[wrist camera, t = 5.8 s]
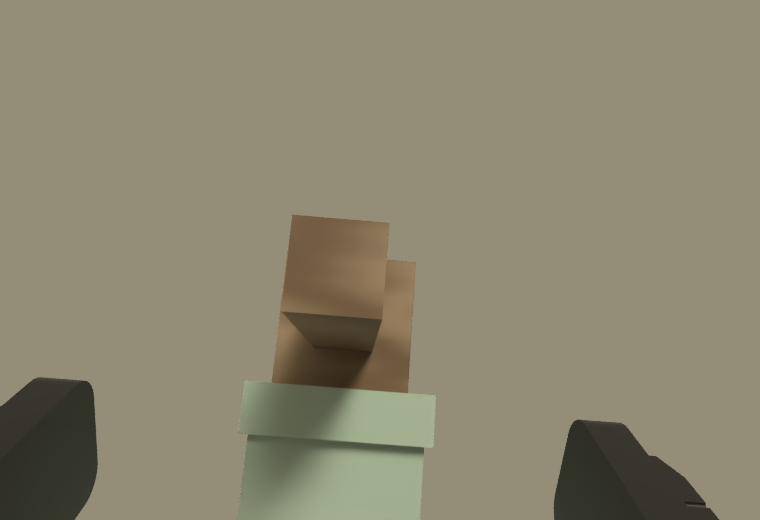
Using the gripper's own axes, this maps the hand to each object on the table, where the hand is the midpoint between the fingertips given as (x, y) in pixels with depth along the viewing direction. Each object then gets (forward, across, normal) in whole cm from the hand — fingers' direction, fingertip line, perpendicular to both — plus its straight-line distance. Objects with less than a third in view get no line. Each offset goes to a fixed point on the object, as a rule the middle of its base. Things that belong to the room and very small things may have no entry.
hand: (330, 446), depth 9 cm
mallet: (+12, 0, +6) cm, 13 cm away
